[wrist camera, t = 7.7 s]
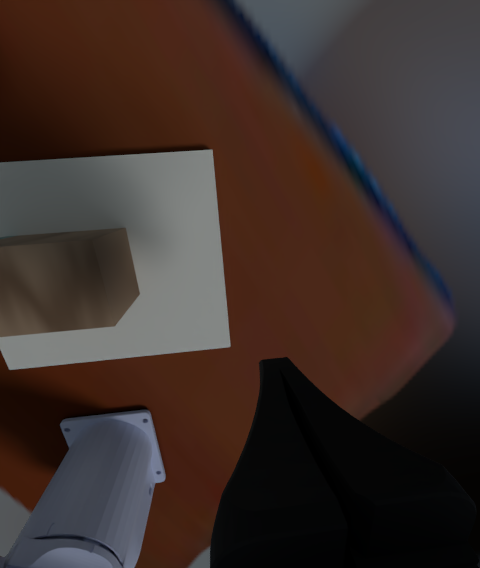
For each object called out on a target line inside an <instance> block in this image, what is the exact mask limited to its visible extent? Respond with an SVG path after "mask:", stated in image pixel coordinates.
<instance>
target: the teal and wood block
mask: <svg viewBox="0 0 480 568" xmlns="http://www.w3.org/2000/svg"><path fill="white" fill-rule="evenodd" d="M139 295H140V292H139V287H138V282H137V278H136V273H135V268H134V264H133V259H132V254H131V250H130V245H129V240H128V236H127V231H126V228H115V229H101V230H87V231H74V232H60V233H46V234H33V235H19V236H5V237H0V337H8V336H19V335H29V334H40V333H50V332H61V331H72V330H82V329H93V328H104V327H114V326H116V324H117V323H118V322H119V320H120V319H121V318H122V317H123V315H124V314H125V313H126V311H127V310H128V309H129V308H130V306H131V305H132V304H133V303H134V301H135V300H136V299H137V297H138V296H139Z"/></svg>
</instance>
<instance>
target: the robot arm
mask: <svg viewBox="0 0 480 568" xmlns="http://www.w3.org/2000/svg"><path fill="white" fill-rule="evenodd" d="M259 367H260V392H259V397H258V402H257V408H256V412H255V416H254V419H253V423H252V426H251V429H250V432H249V435H248V438H247V441H246V444H245V446H244V449H243V451H242V453H241V456H240V458H239V460H238V463H237V465H236V467H235V470H234V472H233V474H232V476H231V478H230V479H229V481H228V483H227V485H226V487H225V489H224V491H223V493H222V496H221V500H220V504H219V507H218V511H217V515H216V519H215V523H214V528H213V533H212V539H211V548H210V568H479V567H478V566H477V564H478V562H479V559H478V556H477V555H476V553H475V552H474V551H473V549H472V548H471V546H470V545H469V543H468V542H467V539H468V537H469V535H470V532H471V529H472V527H473V524H474V522H475V517H476V507H475V503H474V502H473V500H472V499H471V498H470V497H469V496H468V495H467V493H466V492H465V491H464V490H463V488H462V487H461V486H460V485H459V483H458V482H457V481H456V480H455V478H454V477H453V476H452V475H451V474H450V473H449V472H448V471H447V470H446V469H445V468H444V467H443V465H441V464H439V463H437V462H435V461H432V460H430V459H428V458H426V457H424V456H422V455H420V454H418V453H415V452H413V451H411V450H409V449H407V448H405V447H403V446H401V445H399V444H398V443H396V442H394V441H392V440H390V439H388V438H387V437H385V436H383V435H381V434H380V433H378V432H376V431H375V430H373V429H371V428H370V427H368V426H366V425H365V424H363V423H362V422H360V421H359V420H357V419H356V418H354V417H353V416H351V415H350V414H349V413H347V412H346V411H345V410H343V409H342V408H340V407H339V406H338V405H337V404H335V403H334V402H333V401H332V400H331V399H329V398H328V397H327V396H326V395H325V394H324V393H322V392H321V391H320V390H319V389H318V388H317V387H316V386H315V385H314V384H313V383H312V382H311V381H310V380H309V379H308V378H307V377H306V376H305V375H304V374H303V373H302V372H301V371H300V370H299V369H298V368H297V367H296V366H295V365H294V364H293V363H292V362H291V360H290V359H289V358H287V357H284V358H275V359H265V360H261V361H260V362H259ZM146 419H147V420H146ZM60 427H61V430H62V432H63V435H64V437H65V439H66V442H67V444H68V447H69V450H68V452H67V454H66V455H65V457H64V459H63V461H62V462H61V464H60V466H59V467H58V469H57V471H56V473H55V474H54V476H53V478H52V479H51V481H50V483H49V485H48V486H47V488H46V490H45V491H44V493H43V495H42V497H41V498H40V500H39V502H38V503H37V505H36V507H35V509H34V510H33V512H32V514H31V515H30V517H29V519H28V521H27V522H26V524H25V526H24V527H23V529H22V531H21V533H20V534H19V536H18V538H17V539H16V541H15V543H14V545H13V546H12V548H11V550H10V551H9V553H8V554H7V555H6V556H5V557H1V556H0V568H134V567H135V565H136V562H137V560H138V557H139V554H140V550H141V546H142V541H143V537H144V532H145V528H146V523H147V518H148V514H149V509H150V505H151V500H152V495H153V491H154V486H155V483H159V482H163V481H164V480H165V477H166V475H165V470H164V466H163V462H162V458H161V454H160V450H159V446H158V442H157V438H156V434H155V429H154V425H153V421H152V417H151V413H150V411H148V410H137V411H128V412H119V413H111V414H102V415H93V416H85V417H76V418H67V419H64V420H62V422H61V423H60Z"/></svg>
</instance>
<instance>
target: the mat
mask: <svg viewBox="0 0 480 568" xmlns="http://www.w3.org/2000/svg"><path fill="white" fill-rule="evenodd" d="M115 228H126V231H127V236H128V240H129V245H130V250H131V254H132V259H133V264H134V268H135V273H136V278H137V282H138V287H139V292H140V295H139V296H138V297H137V299H136V300H135V301H134V303H133V304H132V305H131V306H130V308H129V309H128V310H127V311H126V313H125V314H124V315H123V317H122V318H121V319H120V320H119V322H118V323H117V324H116V326H114V327H104V328H93V329H82V330H72V331H61V332H50V333H40V334H29V335H19V336H8V337H0V350H1V352H2V354H3V357H4V359H5V361H6V363H7V365H8V368H9V370H14V369H24V368H33V367H43V366H52V365H62V364H72V363H81V362H91V361H100V360H110V359H120V358H129V357H139V356H149V355H158V354H168V353H177V352H187V351H197V350H206V349H216V348H225V347H231V346H230V335H229V324H228V313H227V302H226V292H225V281H224V270H223V259H222V248H221V238H220V227H219V216H218V205H217V194H216V183H215V173H214V162H213V151H212V150H198V151H182V152H165V153H149V154H132V155H116V156H99V157H83V158H67V159H50V160H34V161H17V162H1V163H0V237H5V236H19V235H33V234H46V233H60V232H74V231H87V230H101V229H115Z"/></svg>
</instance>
